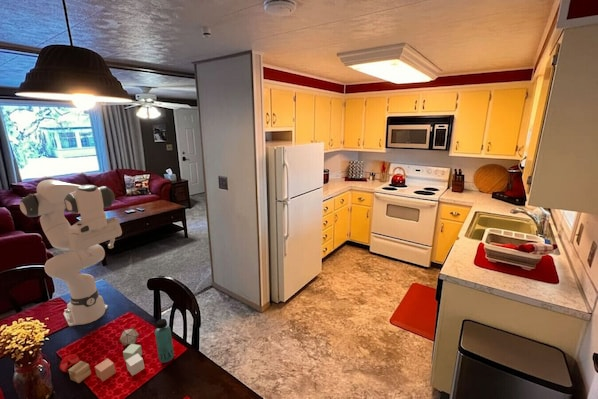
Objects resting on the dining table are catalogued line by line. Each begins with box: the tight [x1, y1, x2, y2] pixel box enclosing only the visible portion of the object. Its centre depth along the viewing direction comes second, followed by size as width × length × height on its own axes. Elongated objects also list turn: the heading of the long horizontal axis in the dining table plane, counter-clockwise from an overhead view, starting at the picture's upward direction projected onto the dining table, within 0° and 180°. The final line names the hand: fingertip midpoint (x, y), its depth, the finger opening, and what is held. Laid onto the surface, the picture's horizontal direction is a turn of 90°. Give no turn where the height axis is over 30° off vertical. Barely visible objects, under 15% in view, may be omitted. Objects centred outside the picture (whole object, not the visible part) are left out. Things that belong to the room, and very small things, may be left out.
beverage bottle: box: [154, 318, 175, 363], centre depth 127 cm, size 6×7×20 cm
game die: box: [117, 326, 141, 348], centre depth 138 cm, size 9×8×10 cm
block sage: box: [122, 344, 143, 362], centre depth 131 cm, size 5×5×5 cm
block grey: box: [125, 353, 146, 377], centre depth 125 cm, size 5×5×5 cm
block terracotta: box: [94, 358, 117, 382], centre depth 122 cm, size 5×5×5 cm
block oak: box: [67, 360, 92, 384], centre depth 121 cm, size 5×5×5 cm
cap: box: [59, 353, 81, 373], centre depth 126 cm, size 8×6×6 cm
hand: (100, 252), depth 130 cm, fingers open, 8 cm apart
